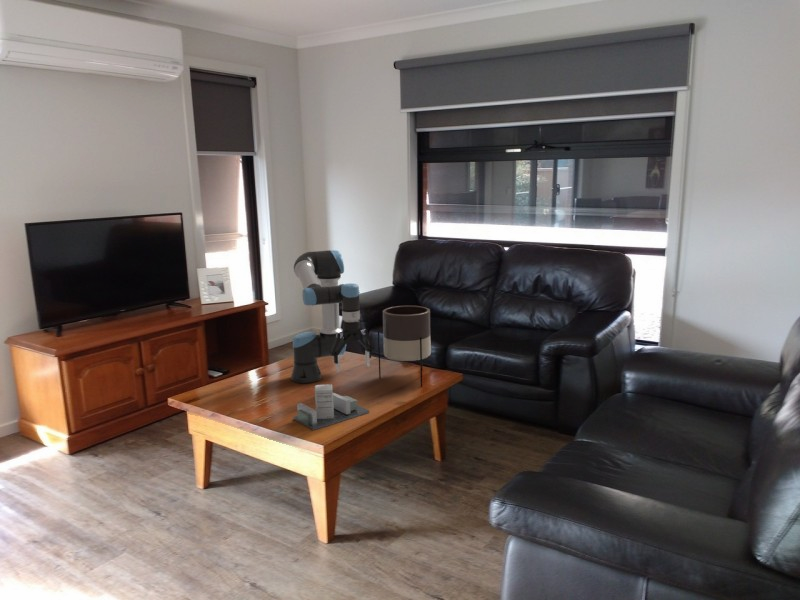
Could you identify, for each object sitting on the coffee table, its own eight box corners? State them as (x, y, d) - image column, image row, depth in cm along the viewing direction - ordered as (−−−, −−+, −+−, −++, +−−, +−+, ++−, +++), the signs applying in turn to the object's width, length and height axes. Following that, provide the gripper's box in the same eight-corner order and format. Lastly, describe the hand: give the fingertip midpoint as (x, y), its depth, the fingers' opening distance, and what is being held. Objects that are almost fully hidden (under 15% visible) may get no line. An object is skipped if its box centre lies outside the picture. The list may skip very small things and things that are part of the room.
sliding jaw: (330, 406, 263) (330, 393, 262) (344, 402, 267) (343, 390, 266) (346, 414, 254) (345, 401, 253) (360, 410, 258) (359, 397, 257)
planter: (446, 380, 298) (445, 311, 291) (404, 391, 285) (403, 318, 278) (415, 368, 319) (414, 303, 313) (375, 377, 306) (373, 309, 299)
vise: (293, 419, 254) (292, 403, 253) (348, 402, 271) (347, 388, 270) (313, 430, 242) (312, 413, 240) (369, 412, 259) (368, 397, 258)
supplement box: (316, 413, 257) (315, 384, 255) (334, 412, 258) (332, 383, 256) (315, 419, 250) (314, 390, 248) (333, 418, 251) (332, 389, 248)
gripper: (326, 325, 248) (328, 375, 252) (381, 318, 258) (383, 365, 263) (320, 322, 254) (322, 370, 258) (374, 315, 265) (376, 361, 269)
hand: (353, 368), depth 260 cm, fingers open, 13 cm apart
